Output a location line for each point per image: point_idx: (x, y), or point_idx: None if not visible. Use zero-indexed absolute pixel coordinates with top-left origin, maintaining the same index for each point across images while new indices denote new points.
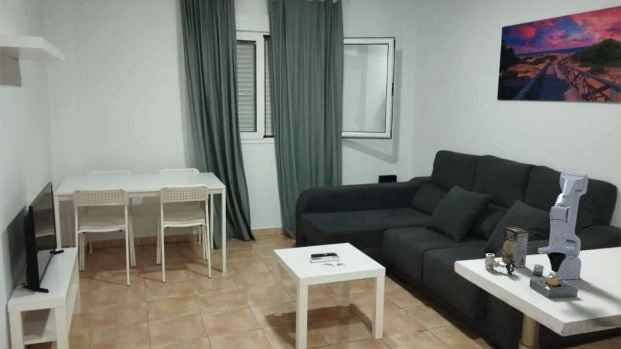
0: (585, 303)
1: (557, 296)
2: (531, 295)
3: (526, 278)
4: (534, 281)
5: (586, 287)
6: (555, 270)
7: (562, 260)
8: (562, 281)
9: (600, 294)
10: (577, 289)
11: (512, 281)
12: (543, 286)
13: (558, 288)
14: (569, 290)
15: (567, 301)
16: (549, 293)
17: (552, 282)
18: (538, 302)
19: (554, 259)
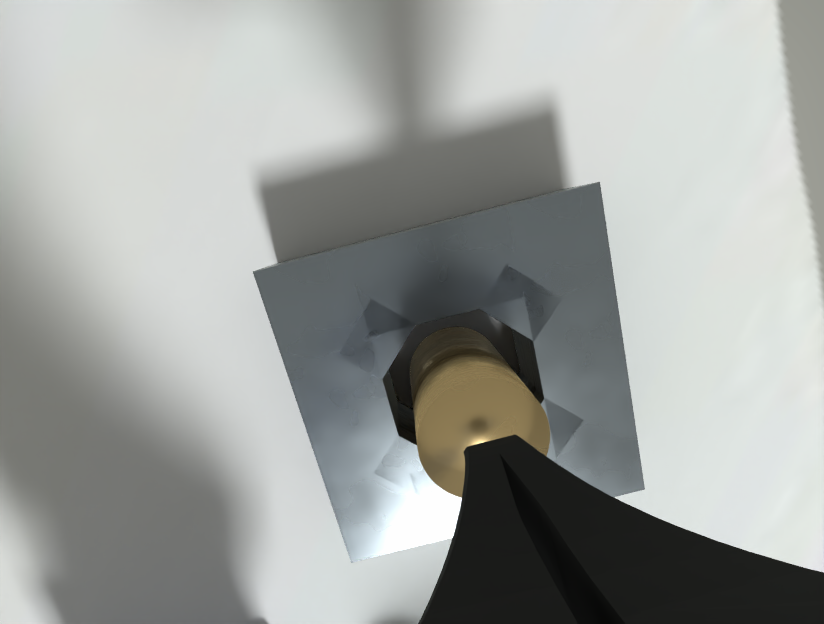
0: (259, 98)
1: (478, 211)
2: (686, 245)
3: None
4: (627, 438)
5: (106, 500)
6: (522, 442)
7: (458, 604)
8: (333, 479)
9: (30, 353)
10: (257, 271)
11: None
12: (603, 306)
13: (464, 267)
14: (354, 245)
15: (416, 132)
16: (580, 186)
17: (501, 362)
18: (707, 71)
19: (783, 575)
